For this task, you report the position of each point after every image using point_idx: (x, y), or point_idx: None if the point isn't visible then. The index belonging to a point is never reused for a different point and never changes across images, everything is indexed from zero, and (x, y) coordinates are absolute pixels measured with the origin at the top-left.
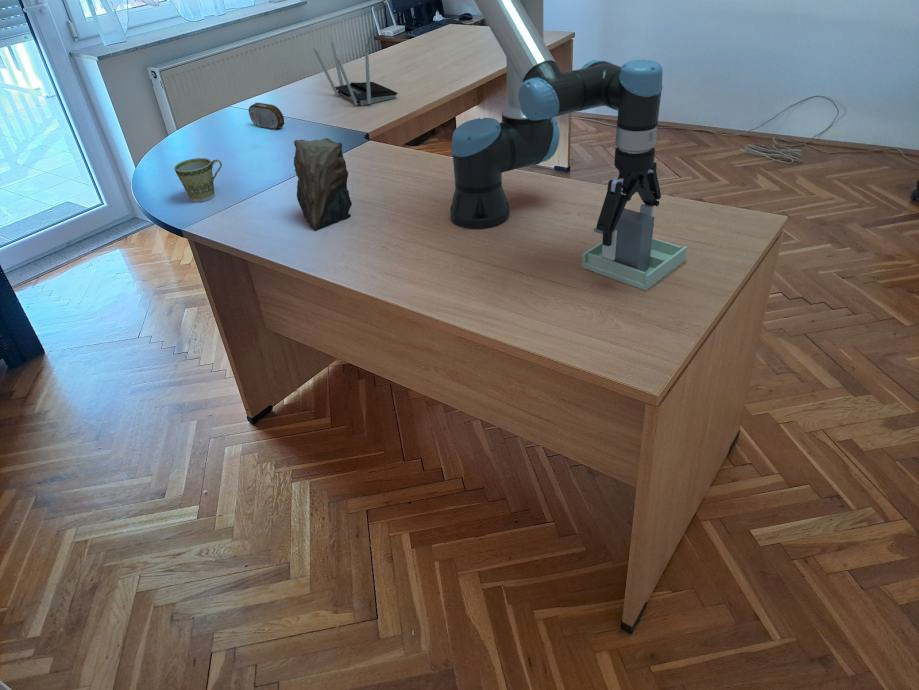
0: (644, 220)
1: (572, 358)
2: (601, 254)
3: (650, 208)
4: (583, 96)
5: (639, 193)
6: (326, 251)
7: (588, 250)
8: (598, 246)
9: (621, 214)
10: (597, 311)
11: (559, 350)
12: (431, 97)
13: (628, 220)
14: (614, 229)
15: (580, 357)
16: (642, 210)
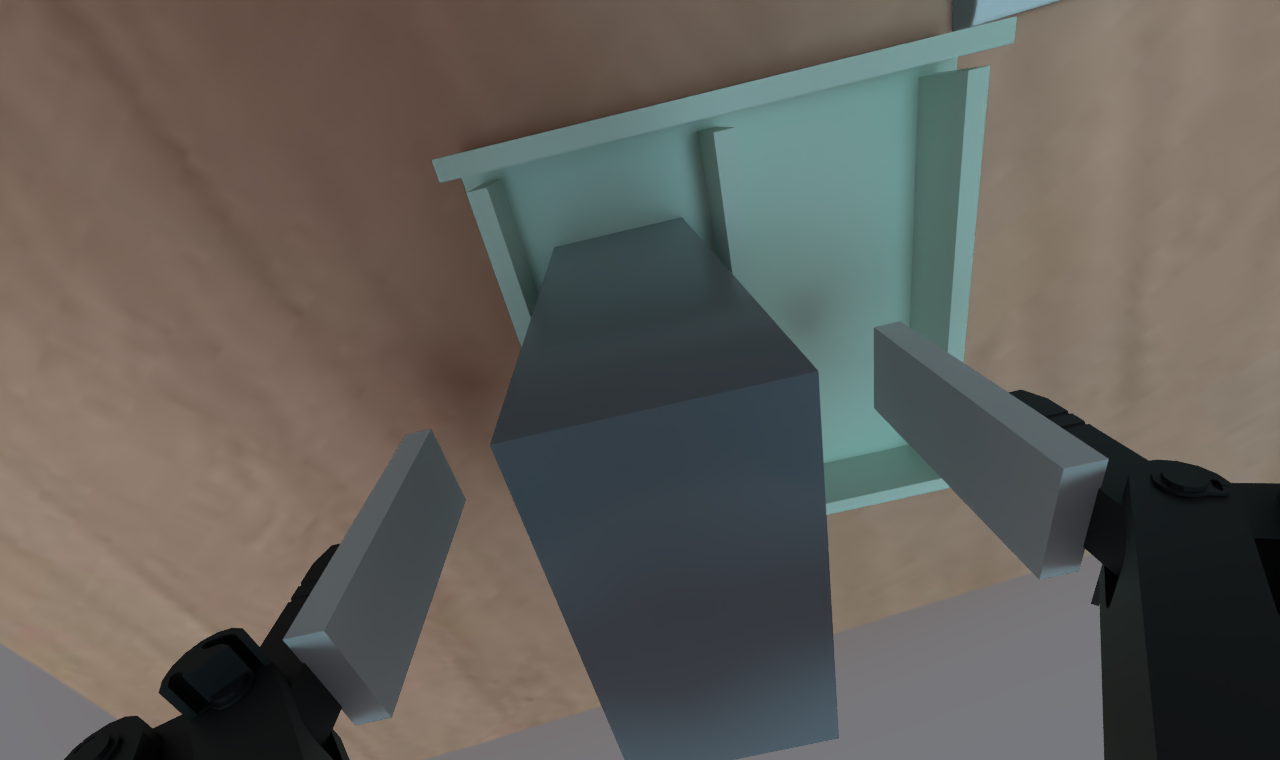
0: (714, 744)
1: (65, 661)
2: (643, 142)
3: (1034, 563)
4: None
5: (1143, 711)
6: None
7: (503, 147)
8: (619, 137)
9: (648, 576)
10: (301, 516)
11: (24, 617)
12: None
13: (598, 690)
14: (341, 744)
15: (99, 667)
16: (1011, 455)
